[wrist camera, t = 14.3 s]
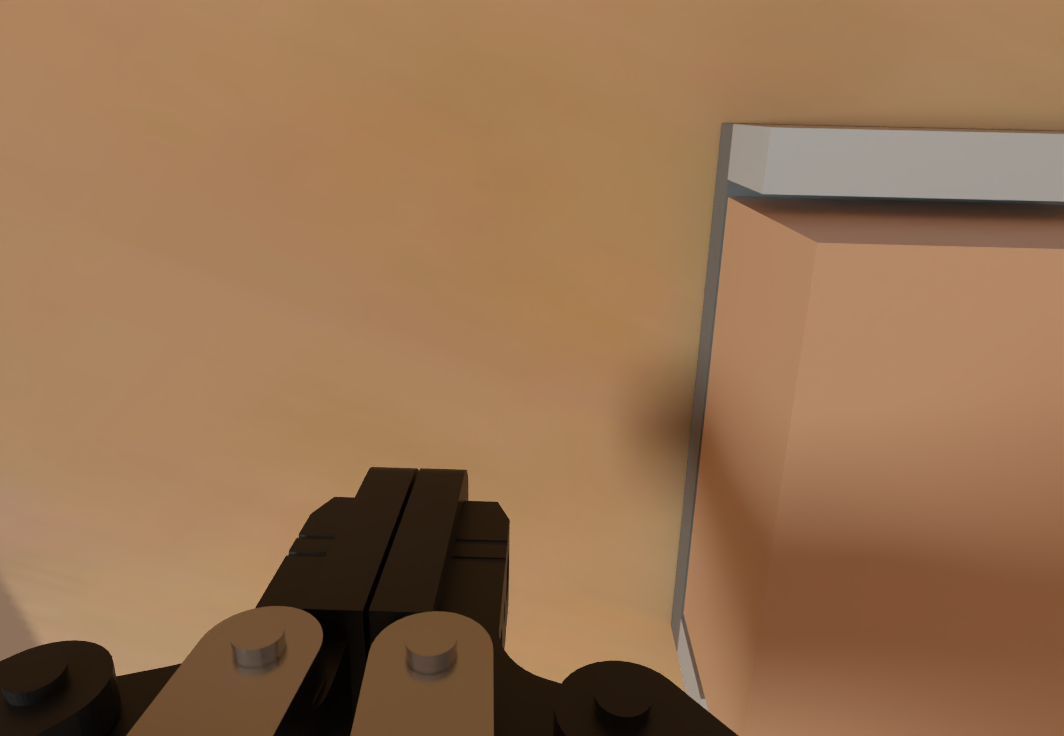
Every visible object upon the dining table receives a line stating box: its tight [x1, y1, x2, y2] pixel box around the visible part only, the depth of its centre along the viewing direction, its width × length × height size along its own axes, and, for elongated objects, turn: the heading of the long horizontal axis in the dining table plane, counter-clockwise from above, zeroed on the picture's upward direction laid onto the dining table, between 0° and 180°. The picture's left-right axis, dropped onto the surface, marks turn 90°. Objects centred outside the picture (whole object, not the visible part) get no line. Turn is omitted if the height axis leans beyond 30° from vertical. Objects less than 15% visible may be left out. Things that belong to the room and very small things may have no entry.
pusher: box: [683, 197, 1064, 736], centre depth 13 cm, size 6×9×5 cm, turn 179°
